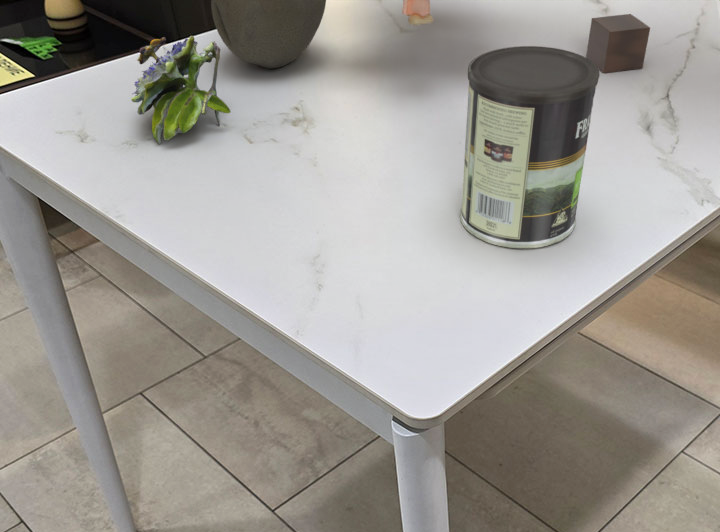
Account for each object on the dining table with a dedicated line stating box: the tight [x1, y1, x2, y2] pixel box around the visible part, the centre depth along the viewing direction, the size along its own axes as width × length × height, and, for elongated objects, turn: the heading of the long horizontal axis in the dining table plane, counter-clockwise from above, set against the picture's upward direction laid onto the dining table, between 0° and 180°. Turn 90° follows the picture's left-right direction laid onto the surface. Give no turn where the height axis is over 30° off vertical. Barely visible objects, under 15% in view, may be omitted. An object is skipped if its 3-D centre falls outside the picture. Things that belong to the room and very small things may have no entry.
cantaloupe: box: [210, 0, 327, 69], centre depth 104 cm, size 14×14×15 cm
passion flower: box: [130, 35, 231, 145], centre depth 94 cm, size 11×11×12 cm
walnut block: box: [585, 13, 651, 74], centre depth 102 cm, size 5×5×5 cm
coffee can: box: [459, 45, 600, 250], centre depth 73 cm, size 10×10×14 cm
